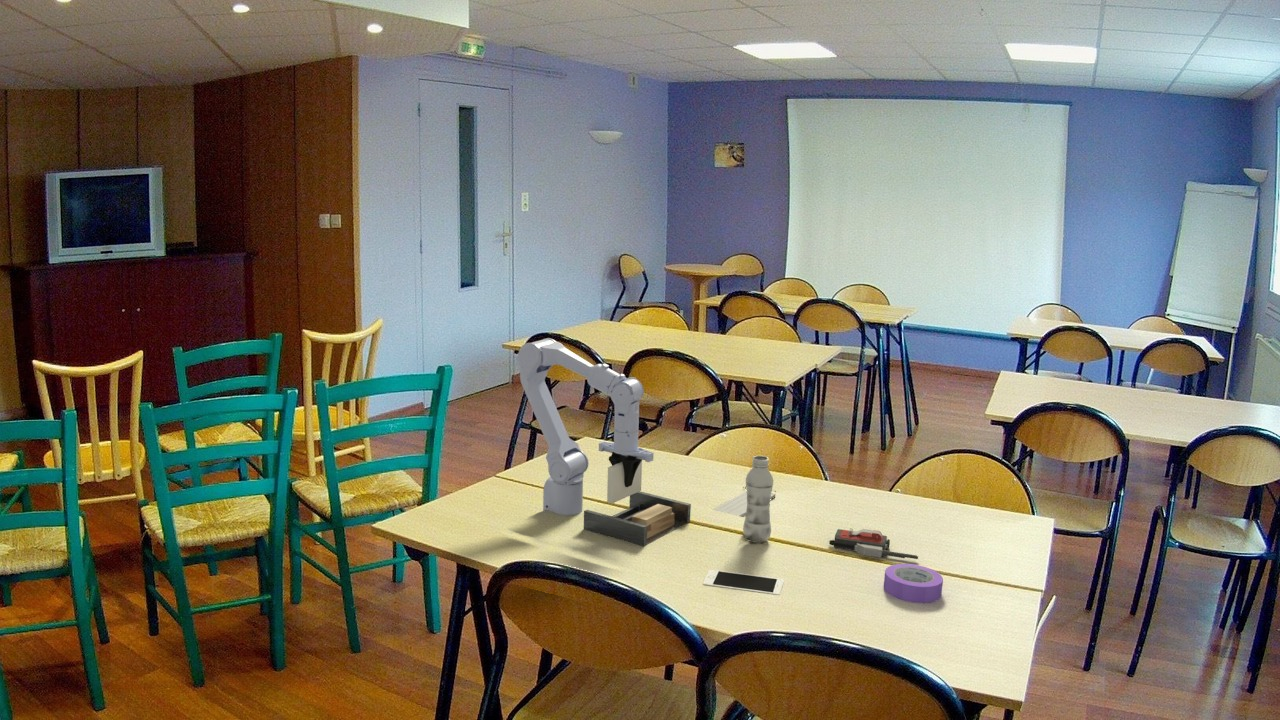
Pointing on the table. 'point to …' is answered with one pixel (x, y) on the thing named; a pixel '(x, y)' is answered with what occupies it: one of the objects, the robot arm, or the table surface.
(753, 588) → the cell phone
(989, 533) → the table surface
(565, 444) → the robot arm
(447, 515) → the table surface
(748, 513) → the plastic bottle
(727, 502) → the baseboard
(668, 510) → the offcut stack
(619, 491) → the white block
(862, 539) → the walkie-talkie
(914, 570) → the masking tape
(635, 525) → the rack
